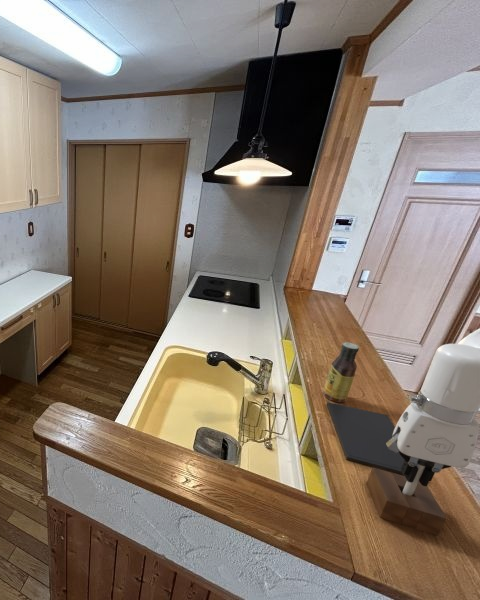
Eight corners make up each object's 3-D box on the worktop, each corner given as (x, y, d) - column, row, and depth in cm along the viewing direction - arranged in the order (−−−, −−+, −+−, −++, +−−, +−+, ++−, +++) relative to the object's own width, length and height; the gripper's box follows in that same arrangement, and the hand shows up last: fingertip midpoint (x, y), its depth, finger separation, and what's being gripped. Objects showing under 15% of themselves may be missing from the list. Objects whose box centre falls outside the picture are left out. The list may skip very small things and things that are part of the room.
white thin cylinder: (408, 496, 70) (425, 457, 66) (411, 502, 69) (429, 463, 65) (399, 493, 71) (415, 455, 67) (402, 499, 69) (419, 461, 66)
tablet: (386, 417, 97) (387, 414, 97) (424, 480, 77) (425, 477, 76) (326, 404, 103) (327, 401, 103) (346, 459, 83) (347, 456, 83)
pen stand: (417, 497, 73) (425, 481, 71) (438, 536, 65) (447, 518, 63) (365, 483, 77) (372, 467, 75) (379, 517, 69) (386, 500, 67)
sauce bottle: (321, 389, 110) (336, 337, 103) (344, 395, 107) (361, 342, 100) (323, 400, 105) (339, 346, 98) (347, 406, 102) (365, 351, 95)
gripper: (399, 408, 62) (372, 479, 68) (519, 432, 55) (477, 508, 61) (384, 386, 68) (361, 454, 74) (490, 405, 61) (455, 477, 68)
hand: (414, 478), depth 68 cm, fingers closed on white thin cylinder, 1 cm apart
